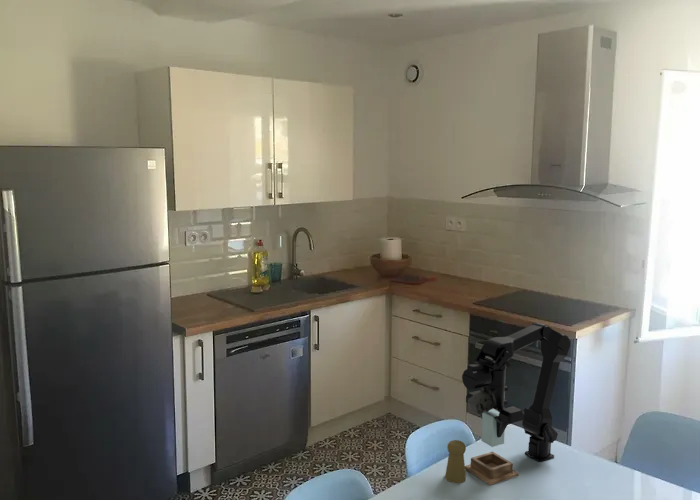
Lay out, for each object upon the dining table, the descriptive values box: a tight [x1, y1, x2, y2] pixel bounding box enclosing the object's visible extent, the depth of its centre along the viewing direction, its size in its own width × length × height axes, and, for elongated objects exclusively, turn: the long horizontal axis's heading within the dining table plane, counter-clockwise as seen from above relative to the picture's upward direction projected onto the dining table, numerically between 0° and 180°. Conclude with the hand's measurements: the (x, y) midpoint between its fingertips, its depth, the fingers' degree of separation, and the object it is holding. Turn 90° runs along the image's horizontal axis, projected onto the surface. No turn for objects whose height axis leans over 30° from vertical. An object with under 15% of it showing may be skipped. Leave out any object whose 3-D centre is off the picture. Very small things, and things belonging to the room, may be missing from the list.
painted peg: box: [481, 409, 506, 448], centre depth 178 cm, size 5×5×9 cm
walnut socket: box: [465, 451, 519, 486], centre depth 180 cm, size 11×11×4 cm
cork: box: [444, 439, 467, 484], centre depth 176 cm, size 6×6×11 cm
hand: (493, 433), depth 178 cm, fingers closed on painted peg, 5 cm apart
